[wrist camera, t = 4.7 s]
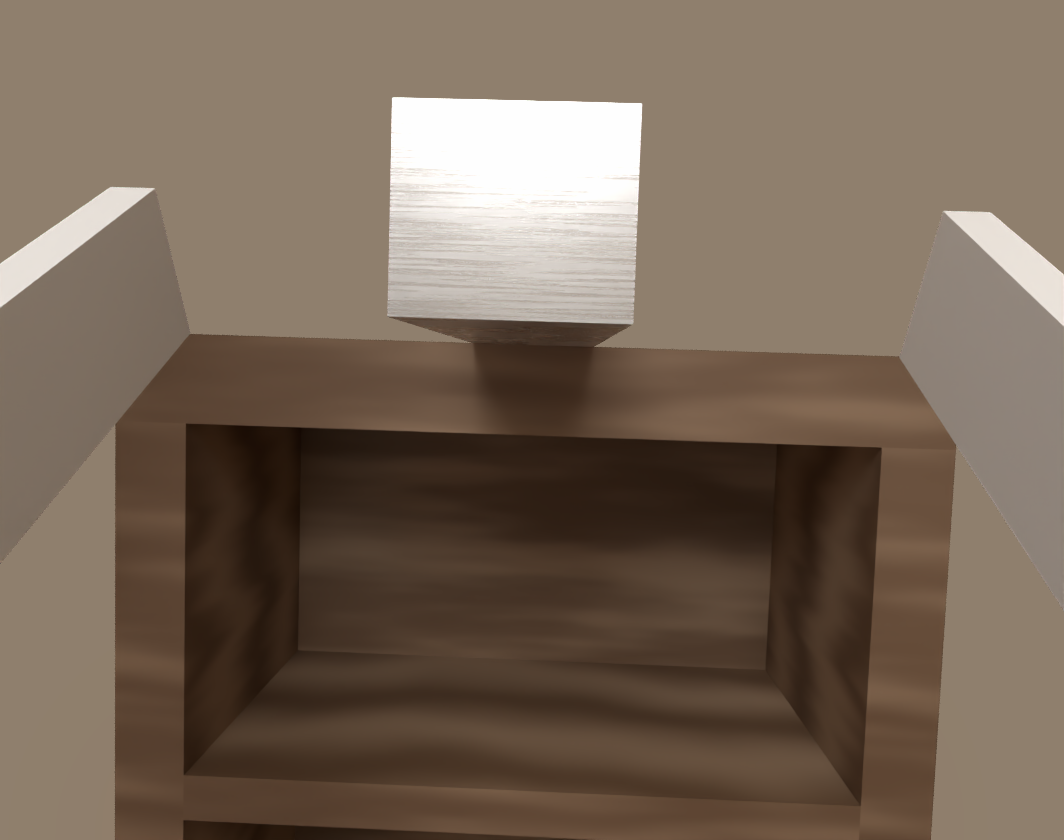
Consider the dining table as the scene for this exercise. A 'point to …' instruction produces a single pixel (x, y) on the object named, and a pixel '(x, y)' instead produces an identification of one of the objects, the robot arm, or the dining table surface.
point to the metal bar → (514, 219)
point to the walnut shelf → (527, 594)
